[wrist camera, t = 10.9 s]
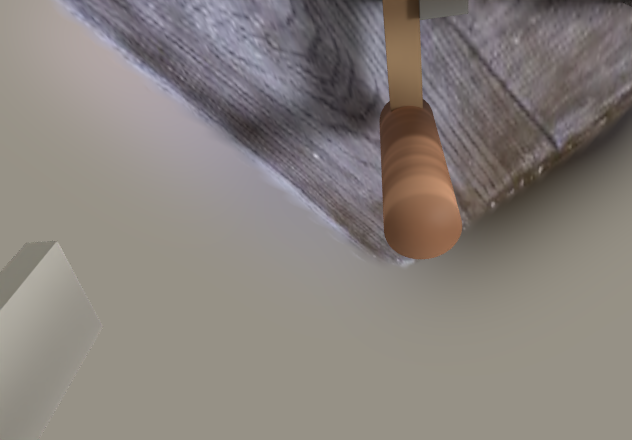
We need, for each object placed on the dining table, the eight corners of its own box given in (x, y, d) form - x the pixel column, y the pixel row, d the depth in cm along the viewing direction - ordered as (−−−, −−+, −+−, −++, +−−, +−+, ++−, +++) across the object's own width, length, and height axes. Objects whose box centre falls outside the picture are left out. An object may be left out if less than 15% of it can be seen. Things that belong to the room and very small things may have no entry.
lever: (345, -189, 28) (325, -243, 15) (456, -211, 27) (532, -289, 14) (375, 135, 38) (378, 261, 25) (456, 127, 37) (500, 254, 24)
